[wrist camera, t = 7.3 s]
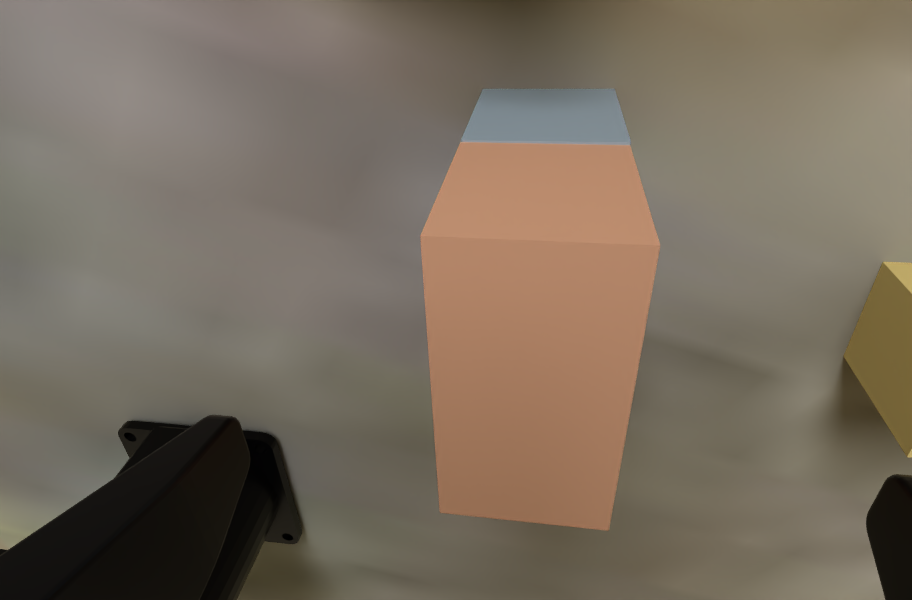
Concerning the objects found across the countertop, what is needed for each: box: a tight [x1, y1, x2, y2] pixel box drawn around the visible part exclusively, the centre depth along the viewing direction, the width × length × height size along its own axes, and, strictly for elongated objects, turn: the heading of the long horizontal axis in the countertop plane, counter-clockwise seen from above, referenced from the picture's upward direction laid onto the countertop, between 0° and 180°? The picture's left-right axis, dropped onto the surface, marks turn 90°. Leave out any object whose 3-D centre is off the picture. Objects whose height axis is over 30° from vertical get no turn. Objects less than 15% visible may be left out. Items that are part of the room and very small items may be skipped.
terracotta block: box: [420, 142, 660, 531], centre depth 11 cm, size 6×3×4 cm, turn 2°
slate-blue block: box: [461, 89, 631, 147], centre depth 14 cm, size 6×3×4 cm, turn 2°
